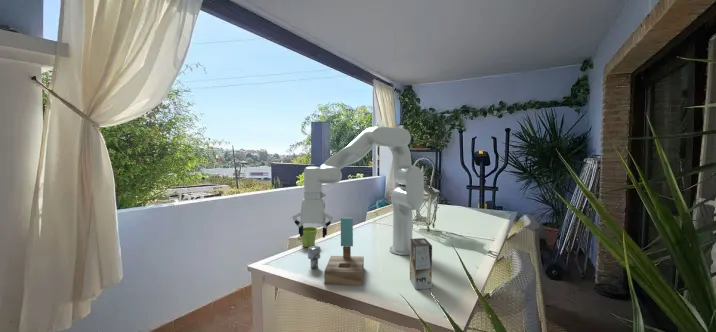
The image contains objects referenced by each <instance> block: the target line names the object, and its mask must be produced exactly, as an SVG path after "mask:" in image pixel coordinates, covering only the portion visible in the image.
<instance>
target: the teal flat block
mask: <svg viewBox="0 0 716 332" xmlns="http://www.w3.org/2000/svg"><path fill="white" fill-rule="evenodd" d="M343 246H351V247H354V225H353V217H340V247H343Z"/></svg>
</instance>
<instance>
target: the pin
mask: <svg viewBox="0 0 716 332" xmlns="http://www.w3.org/2000/svg"><path fill="white" fill-rule="evenodd" d="M307 259H308V260H310V269H311V270H317V269H319V260H320V259H321V246H318V245H314V246H311V247H307Z"/></svg>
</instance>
